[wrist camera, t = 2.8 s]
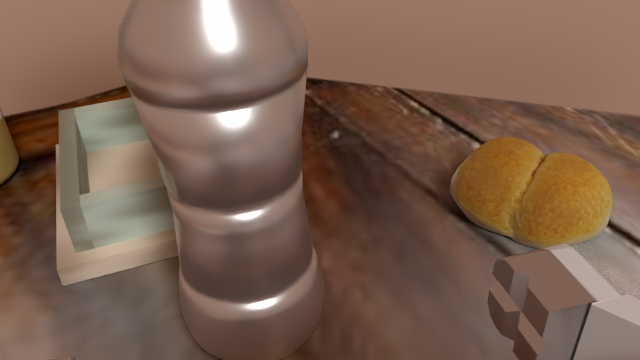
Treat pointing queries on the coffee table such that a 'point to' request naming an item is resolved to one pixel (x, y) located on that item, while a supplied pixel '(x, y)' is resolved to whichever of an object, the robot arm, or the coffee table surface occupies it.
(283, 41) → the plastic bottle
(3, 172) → the paper tube
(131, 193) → the bottle stand
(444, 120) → the coffee table surface
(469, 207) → the bread roll
